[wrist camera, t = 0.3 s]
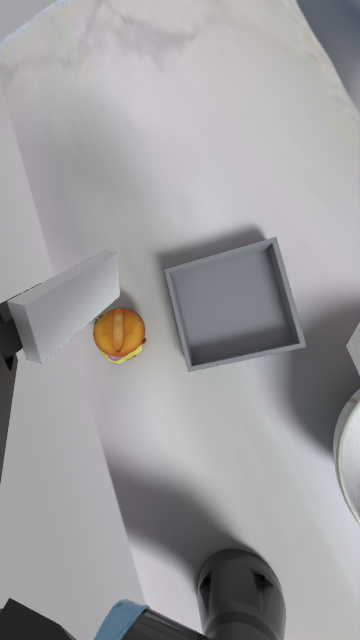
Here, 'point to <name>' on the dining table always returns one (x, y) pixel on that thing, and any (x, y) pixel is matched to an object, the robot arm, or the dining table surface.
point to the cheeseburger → (119, 334)
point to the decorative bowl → (349, 453)
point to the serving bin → (234, 306)
